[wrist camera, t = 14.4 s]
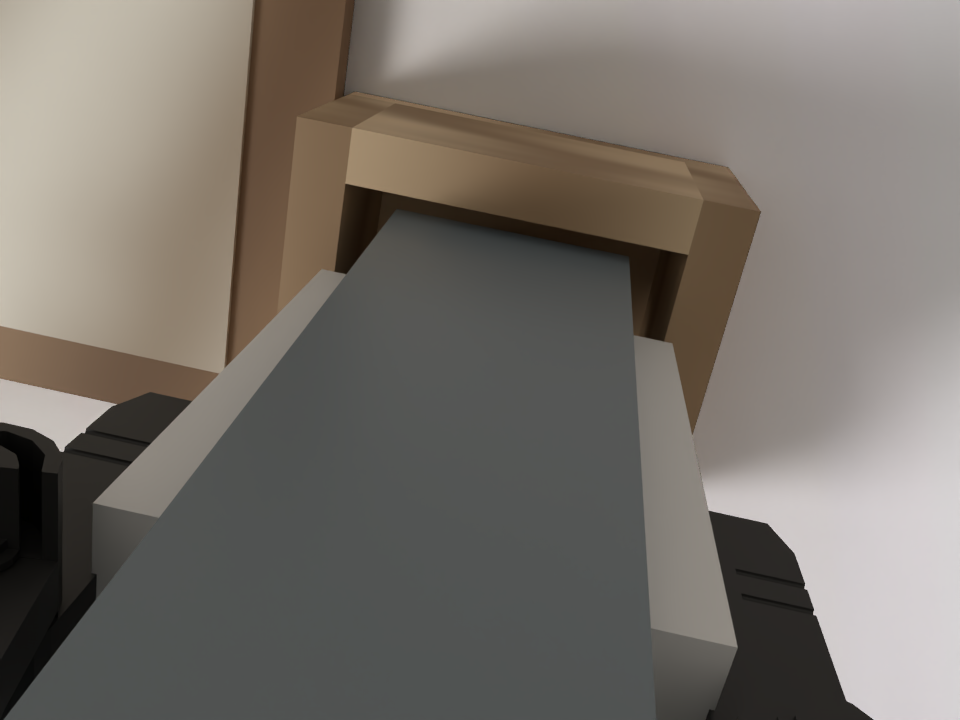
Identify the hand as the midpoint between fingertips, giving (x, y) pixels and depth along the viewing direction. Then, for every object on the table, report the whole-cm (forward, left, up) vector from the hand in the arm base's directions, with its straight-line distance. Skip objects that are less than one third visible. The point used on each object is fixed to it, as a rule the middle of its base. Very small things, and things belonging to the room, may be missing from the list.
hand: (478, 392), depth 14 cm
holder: (0, 0, -4) cm, 4 cm away
